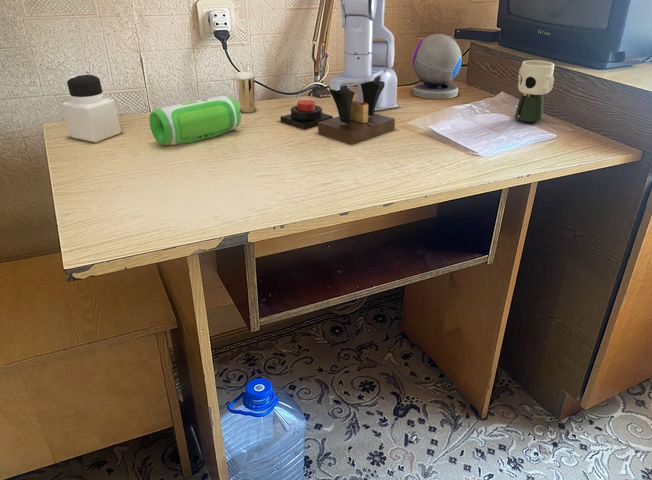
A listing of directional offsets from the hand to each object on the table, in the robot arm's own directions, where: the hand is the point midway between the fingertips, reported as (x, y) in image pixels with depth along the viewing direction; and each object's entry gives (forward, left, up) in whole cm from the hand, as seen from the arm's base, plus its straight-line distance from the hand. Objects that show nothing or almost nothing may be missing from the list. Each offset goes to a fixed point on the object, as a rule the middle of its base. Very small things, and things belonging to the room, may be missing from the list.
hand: (357, 118), depth 119 cm
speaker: (+31, -13, -3) cm, 34 cm away
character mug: (-40, +13, -3) cm, 42 cm away
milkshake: (+14, -27, -3) cm, 31 cm away
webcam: (-37, -18, -3) cm, 41 cm away
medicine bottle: (+49, -25, -3) cm, 55 cm away
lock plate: (0, 0, -3) cm, 3 cm away
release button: (+6, -12, 0) cm, 13 cm away
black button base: (+6, -12, -3) cm, 14 cm away
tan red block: (0, 0, 0) cm, 0 cm away
